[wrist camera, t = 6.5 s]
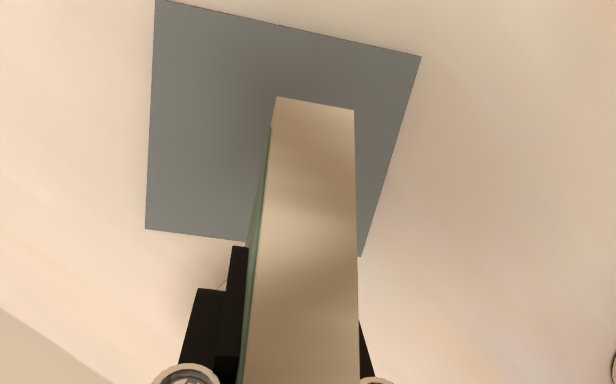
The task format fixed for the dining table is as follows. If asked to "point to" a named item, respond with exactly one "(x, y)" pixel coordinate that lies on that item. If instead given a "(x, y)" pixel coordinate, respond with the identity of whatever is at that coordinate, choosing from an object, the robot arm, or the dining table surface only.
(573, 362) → the dining table surface
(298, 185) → the tile
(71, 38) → the dining table surface
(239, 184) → the mat
